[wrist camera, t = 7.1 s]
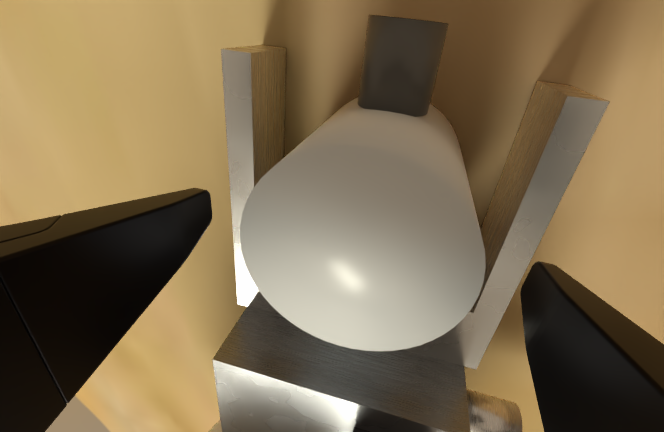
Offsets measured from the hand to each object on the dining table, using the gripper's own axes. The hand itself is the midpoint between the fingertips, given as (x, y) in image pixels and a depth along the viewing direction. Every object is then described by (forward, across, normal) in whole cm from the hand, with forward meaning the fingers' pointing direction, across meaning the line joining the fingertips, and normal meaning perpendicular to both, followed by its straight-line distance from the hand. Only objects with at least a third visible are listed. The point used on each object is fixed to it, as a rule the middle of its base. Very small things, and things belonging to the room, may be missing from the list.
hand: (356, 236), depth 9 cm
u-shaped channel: (+6, -1, +5) cm, 8 cm away
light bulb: (+6, 0, -1) cm, 6 cm away
